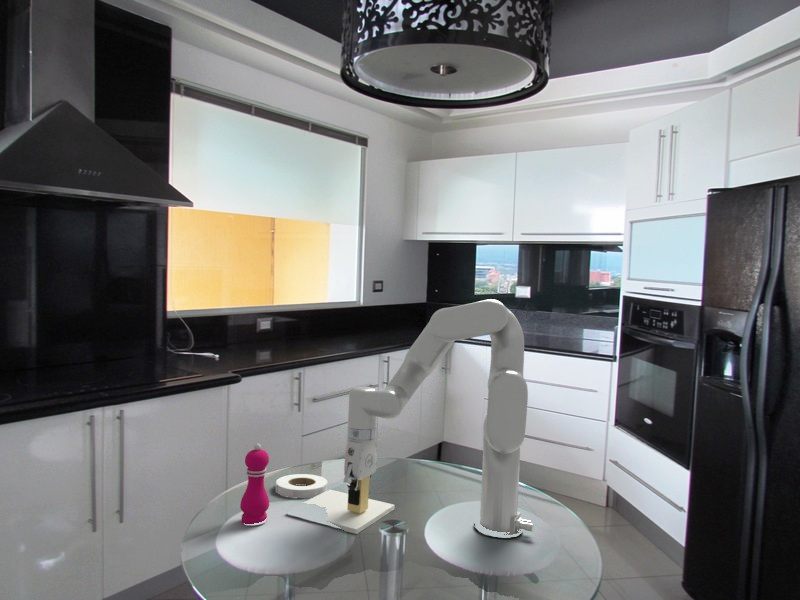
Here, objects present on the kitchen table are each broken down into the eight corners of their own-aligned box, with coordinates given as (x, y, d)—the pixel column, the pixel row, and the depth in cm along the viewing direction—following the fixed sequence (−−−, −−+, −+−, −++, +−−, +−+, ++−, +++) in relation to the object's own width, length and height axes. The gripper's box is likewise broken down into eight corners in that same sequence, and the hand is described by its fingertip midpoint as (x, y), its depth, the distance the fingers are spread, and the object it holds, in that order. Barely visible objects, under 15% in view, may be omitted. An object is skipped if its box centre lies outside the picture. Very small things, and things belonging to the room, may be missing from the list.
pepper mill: (239, 528, 135) (243, 447, 135) (239, 517, 142) (243, 440, 142) (269, 526, 137) (272, 446, 137) (268, 515, 144) (271, 439, 144)
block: (367, 508, 147) (369, 471, 147) (360, 513, 144) (361, 475, 144) (355, 505, 149) (357, 469, 149) (347, 510, 146) (349, 472, 146)
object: (306, 479, 176) (307, 470, 176) (337, 492, 165) (337, 482, 165) (265, 489, 165) (265, 479, 165) (294, 503, 154) (295, 493, 154)
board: (394, 509, 152) (394, 504, 152) (356, 534, 135) (356, 529, 135) (329, 493, 163) (329, 489, 163) (286, 514, 145) (286, 510, 145)
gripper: (356, 441, 137) (353, 514, 137) (388, 429, 152) (385, 495, 152) (332, 437, 141) (328, 508, 141) (365, 425, 156) (362, 490, 156)
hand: (358, 500), depth 146 cm, fingers closed on block, 4 cm apart
